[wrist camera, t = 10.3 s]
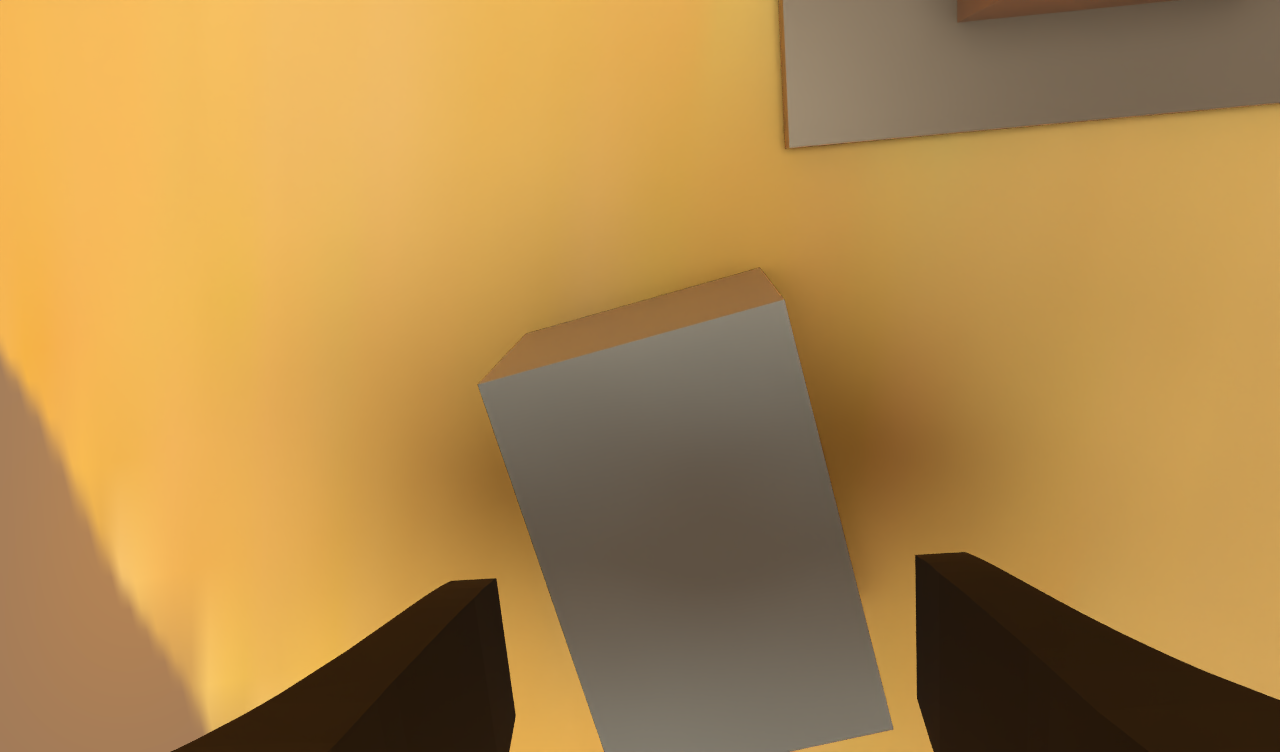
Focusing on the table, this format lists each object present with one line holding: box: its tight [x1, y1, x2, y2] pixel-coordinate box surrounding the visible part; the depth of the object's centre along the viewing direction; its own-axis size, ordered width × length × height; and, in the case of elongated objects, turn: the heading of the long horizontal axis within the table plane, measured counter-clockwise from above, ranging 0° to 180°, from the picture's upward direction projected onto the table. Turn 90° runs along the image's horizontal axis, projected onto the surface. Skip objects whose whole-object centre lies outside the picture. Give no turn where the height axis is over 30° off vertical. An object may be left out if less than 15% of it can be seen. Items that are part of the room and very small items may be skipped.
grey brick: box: [478, 268, 893, 752], centre depth 14 cm, size 4×7×4 cm, turn 16°
